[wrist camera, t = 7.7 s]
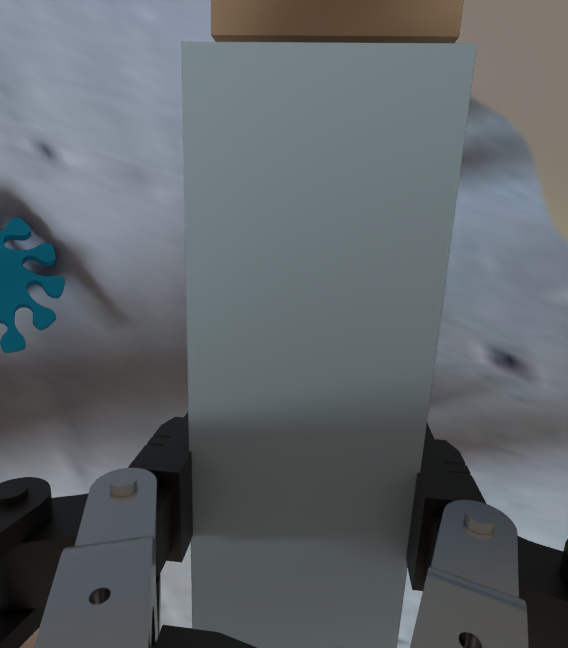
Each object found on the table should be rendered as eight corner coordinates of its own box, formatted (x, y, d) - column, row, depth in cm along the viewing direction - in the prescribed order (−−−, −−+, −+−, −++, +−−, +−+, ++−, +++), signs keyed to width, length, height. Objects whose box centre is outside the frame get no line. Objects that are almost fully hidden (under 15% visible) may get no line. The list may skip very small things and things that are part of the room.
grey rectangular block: (228, 92, 11) (181, 41, 8) (430, 96, 11) (477, 43, 7) (224, 646, 16) (194, 769, 12) (366, 666, 15) (376, 799, 12)
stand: (250, 463, 33) (173, 702, 17) (258, 109, 27) (150, -36, 11) (373, 475, 32) (414, 737, 16) (410, 112, 26) (536, -39, 10)
